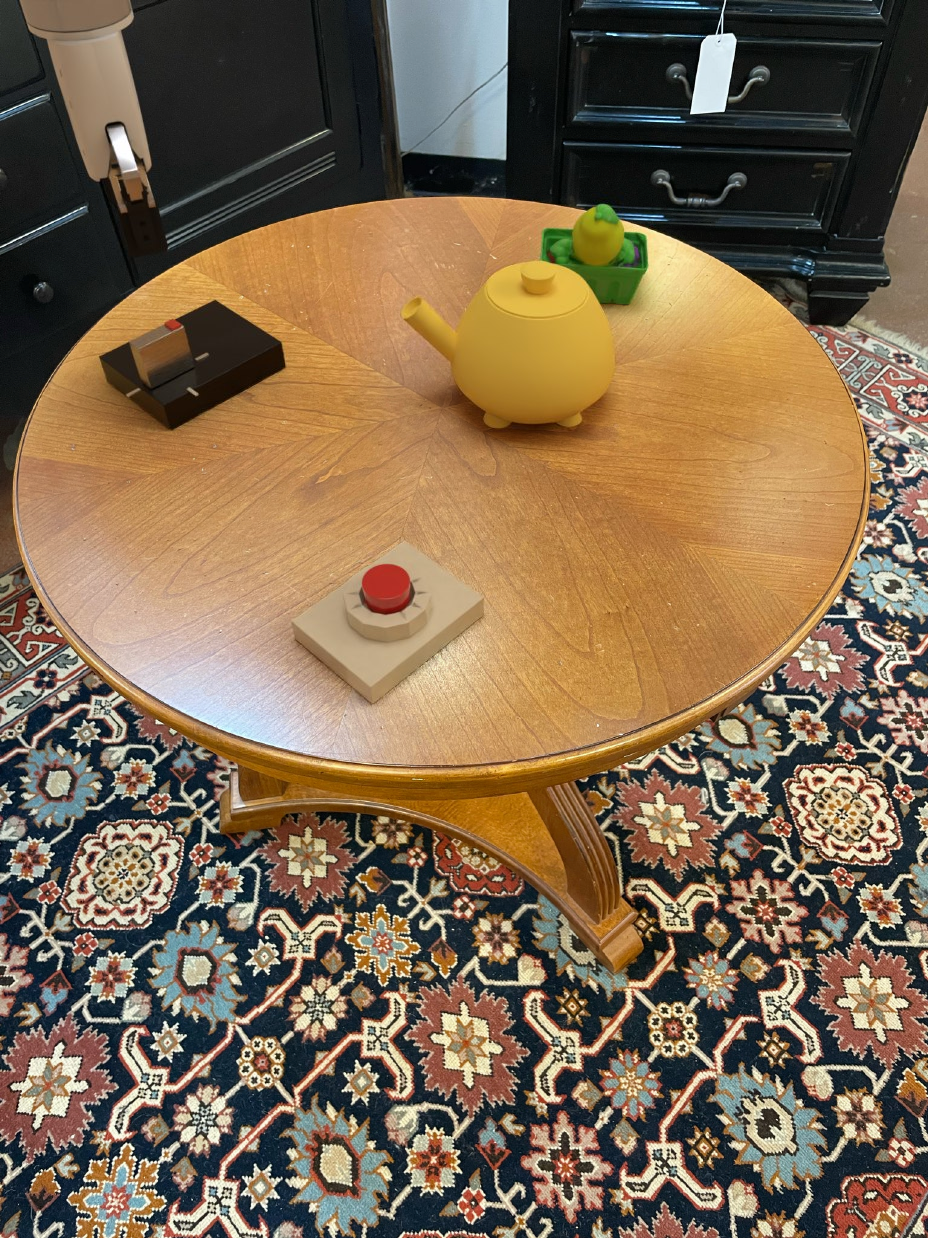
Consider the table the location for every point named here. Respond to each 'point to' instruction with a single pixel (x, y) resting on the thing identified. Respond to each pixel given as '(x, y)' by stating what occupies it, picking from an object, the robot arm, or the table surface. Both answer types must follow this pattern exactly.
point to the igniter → (388, 624)
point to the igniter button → (386, 589)
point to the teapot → (526, 345)
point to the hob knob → (162, 354)
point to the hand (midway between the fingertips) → (138, 224)
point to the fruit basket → (599, 254)
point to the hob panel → (201, 365)
